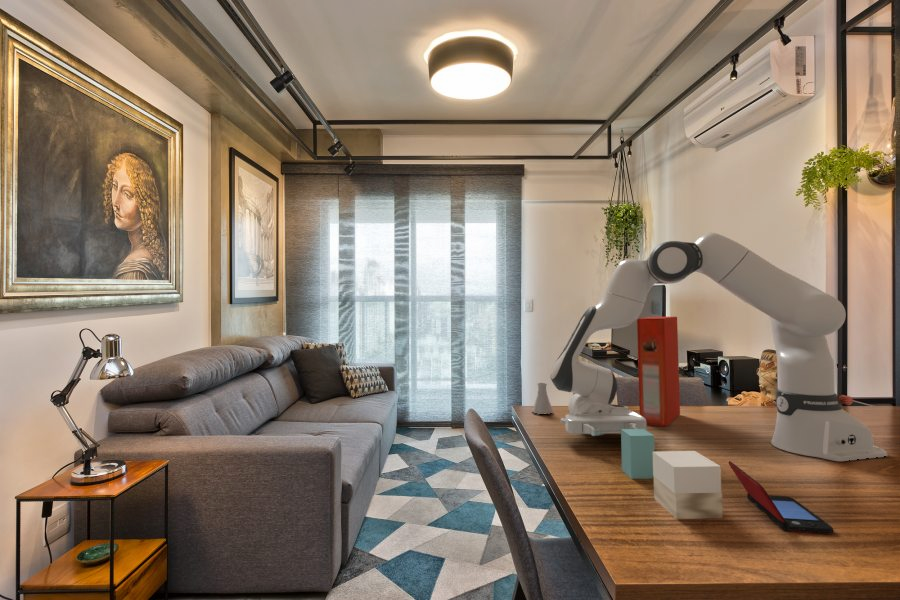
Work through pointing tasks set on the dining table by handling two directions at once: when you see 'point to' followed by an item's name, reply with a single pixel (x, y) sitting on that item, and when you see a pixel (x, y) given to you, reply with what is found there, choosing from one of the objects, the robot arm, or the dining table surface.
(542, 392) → the flask
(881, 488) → the dining table surface
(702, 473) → the tower top
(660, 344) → the file binder
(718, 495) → the tower base
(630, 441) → the teal pillar
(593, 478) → the dining table surface
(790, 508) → the handheld game console
